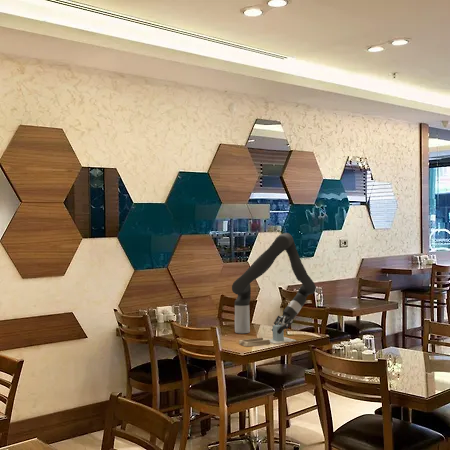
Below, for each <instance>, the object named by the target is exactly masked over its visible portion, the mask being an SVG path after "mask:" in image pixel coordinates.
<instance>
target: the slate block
mask: <svg viewBox="0 0 450 450" xmlns="http://www.w3.org/2000/svg"><path fill="white" fill-rule="evenodd" d="M281 326H282V325H279V324H278V325H275V324H273V325H272V328H273V331H272V339H273V340H274V341H284V337H285V335H284V334H285V333H284V331H285V329H284V330H283V331H282V332H281V334H279V333H278V332H277V331H278V330H279V328H280V327H281Z"/></svg>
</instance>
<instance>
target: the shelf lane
mask: <svg viewBox="0 0 450 450" xmlns="http://www.w3.org/2000/svg"><path fill="white" fill-rule="evenodd" d="M267 339H268V340H265V339H264V337H262V336H261V337H255V338H247V339H245V338H244V339H239V340H238V345H240V346H243V347H246V348H247V347H248V348H249V347H255V346H263V345H270V344H271V343H270V340H269V339H270V338H267Z"/></svg>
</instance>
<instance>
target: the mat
mask: <svg viewBox="0 0 450 450" xmlns="http://www.w3.org/2000/svg"><path fill="white" fill-rule="evenodd" d="M268 339H269V340H270V344H274V345H276V344H283V343H289V342H290V343H291V342H297V340H296V339H293V338H289V337H286V336H284V341H274V340H273V338H266V339H264V340H268Z"/></svg>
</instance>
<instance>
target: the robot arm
mask: <svg viewBox="0 0 450 450" xmlns="http://www.w3.org/2000/svg"><path fill="white" fill-rule="evenodd" d="M284 251H285V252H286V253H287V255H288V258H289V262H290V263H289V264H290V266H291V267H290V268H291V270H292V272H293V274H294V276H295V278H296V280H297V281H298V282H300V283H301V284H302V285H301V286H300V287H299V289H298V291H297V293H296V295H294V297H293V298H292V300H291V301H290V302H289V303H288V304H287V306H286V307H285V308H284V310H283V311H282V315H281V316H280V315H278V316H276V318H275V320H274V322H273V325H282V326H281V327H280V328H279V330H278V331H277V332H278V333H279V334H281V332H282V331H283V330H284V331H285V329H286V330H288V328H289V327H291V325H292V324H293V323H294V319H296V317H297V316H298V314H299V313H300V311H301V309H302V308H303V307H304V305H305V304H306V302H307V299H308V296H309V295H313V294H314V293H315V292H316V291H317V287H316V284H315V282H314V281H313V279H312V278H311V277H310V276H309V275H308V272H307V271H306V268H305V266H304V264H303V262H302V260H301V258H300V255H299V253H298V250H297V247H296V244H295V241H294V238H293V236H292V235H291V234H290V233H289V232H284V233H281V234H280V235H278V236H277V237H276V238H275V239H274V241H273V242H272V243H271V244H270V246H269V247H268V248H267V249H266V250H265V251H264V252H263V253H261V254H260V255H259V256H258V257H257V258H256V259H255V261H253V262H252V264H251V265H250V266H249V267H248V268H247V269H246V270H245V271H244V273H242V275H240V276H239V277H238V278H237V279H236V280H235V281H234V282H233V283H232V285H231V290H232V292H233V293H234V295H237V298H236V299H235V300H234V332H235V333H236V334H248V333H250V332H251V327H250V326H251V325H250V320H251V319H250V315H251V314H250V302H251V296H252V295H251V294H252V293H251V292H252V289H251V288H252V286H251V283H253V281H255V280H257V279H258V278H260V277H261V276H262V275H264V274H265V273H266V272H267V271H268V270H269V269H270V268H271V266H272V265H273V264H274V262H275V261H276V259H277V258H278V257H279V256H280V255H281V254H282V253H283V252H284ZM271 331H272V332H273V327H272V328H271Z"/></svg>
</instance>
